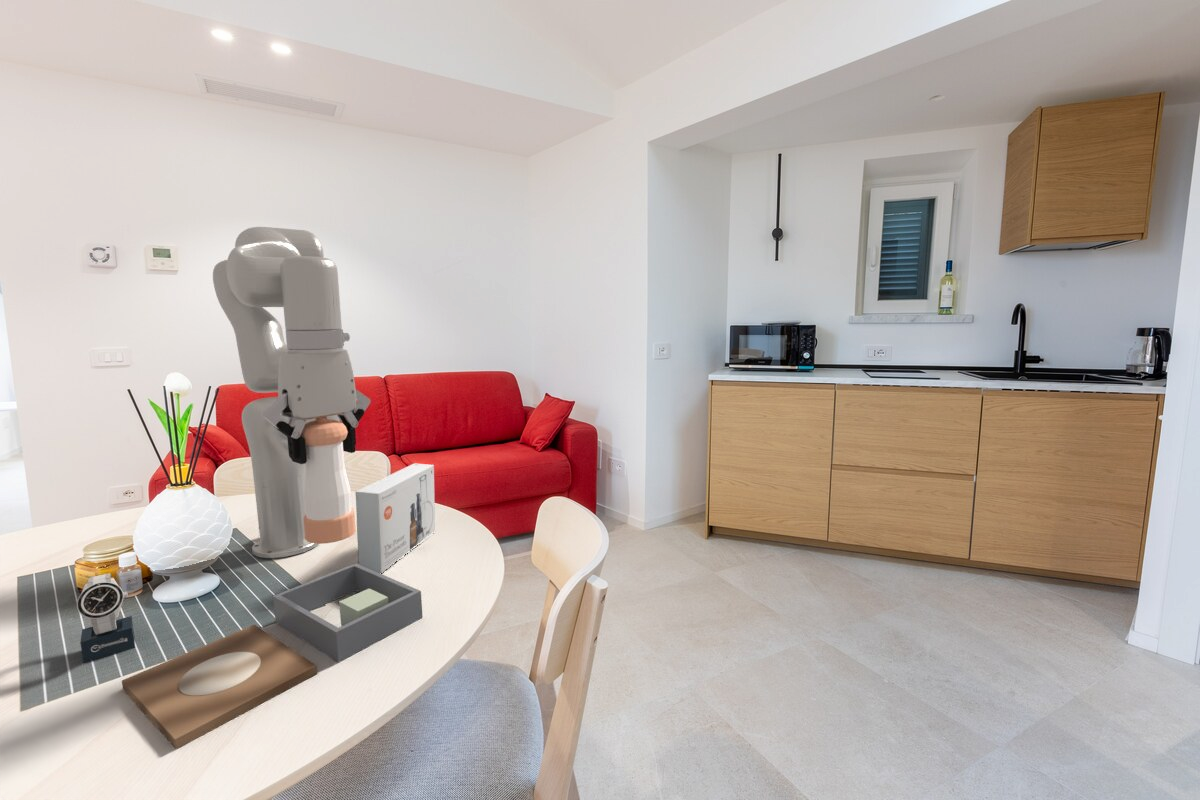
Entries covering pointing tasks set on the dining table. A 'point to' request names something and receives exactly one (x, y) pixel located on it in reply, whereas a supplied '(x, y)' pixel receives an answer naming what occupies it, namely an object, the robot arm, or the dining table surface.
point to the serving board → (216, 683)
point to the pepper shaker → (326, 483)
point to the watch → (104, 619)
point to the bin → (357, 633)
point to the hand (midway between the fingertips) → (324, 455)
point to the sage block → (361, 605)
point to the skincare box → (394, 515)
